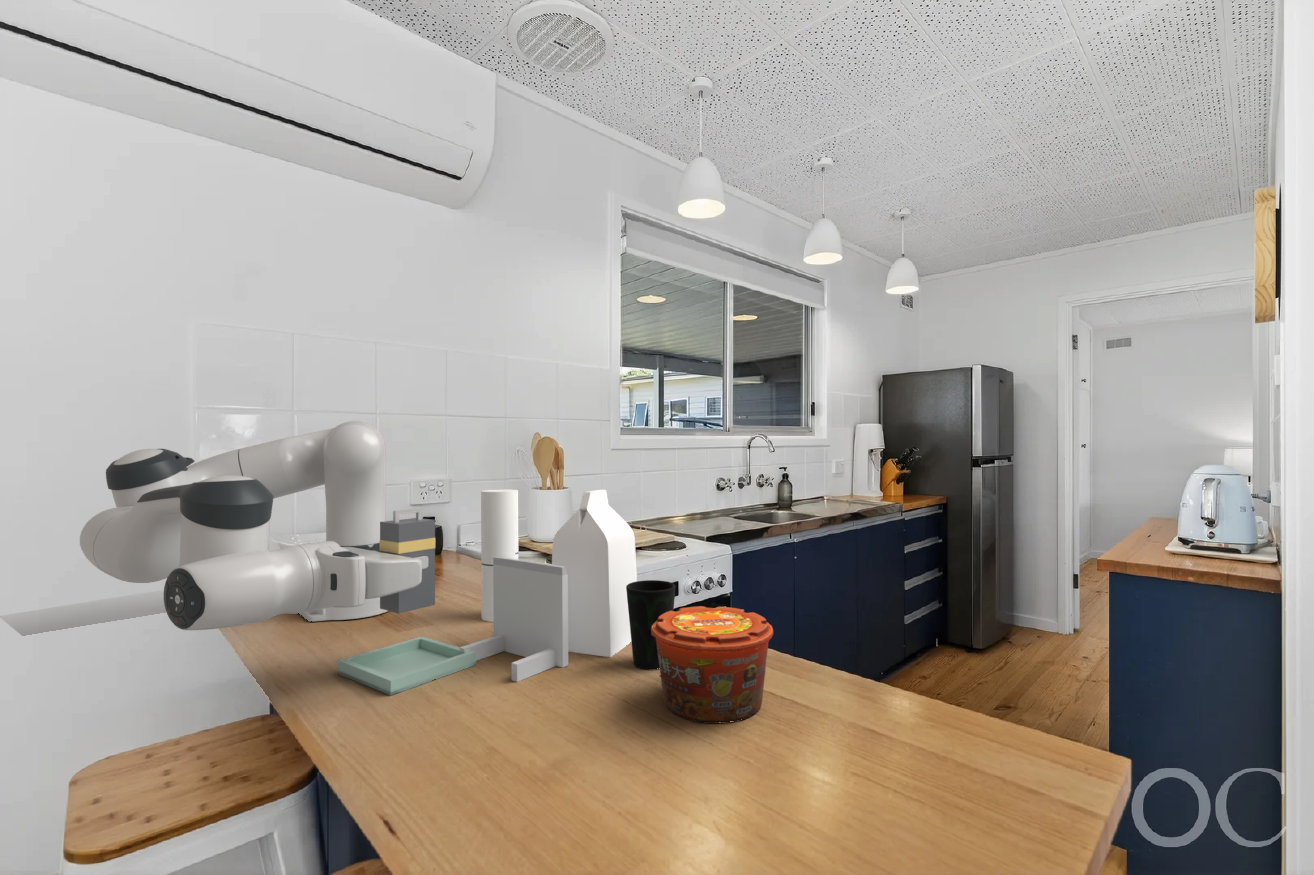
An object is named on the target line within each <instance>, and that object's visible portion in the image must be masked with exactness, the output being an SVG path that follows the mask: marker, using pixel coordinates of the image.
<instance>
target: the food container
mask: <svg viewBox="0 0 1314 875" xmlns="http://www.w3.org/2000/svg"><path fill="white" fill-rule="evenodd" d="M651 635H652V636H653V637H656V643H657V651H658V658H659V666H660V669H659V671H660V672H659V673H660V681H661V687H662V688H661V690H662V698H663V703H664V705H665V706H666V708H667V709H668V710H669V711H670V712H672V713H673V714H675V715H676V716H679V717H681V718H683V717H684V718H683V719H686V720H688V719H689V721H692V720H693V722H697V721H699V722H698V723H703V722H707V724H708V723H709V724H723V723H722V722H729V723H730V721H736V722H738V721H737V720H740V721H742V720H741V719H744V718H746V719H748V718H750V717H752V716H754V715H755V714H757V713H758V712H759V711H760V710H761V708H762V705H763V697H764V686H765V677H766V668H767V667H766V666H767V658H768V652H769V651H768V649H769V642H770V640H771V639H772V638H773V635H774V627H773V625H772V624H770V623H769V622H767V619H766V618H765V617H764V616H762V615H760V614H758V613H756V612H753V611H752V612H745V609H741V608H736V607H727V606H717V607H714V608H713V607H706V606H702V605H699V606H689V607H680V608H679V609H678V610H677V611H669V612H666V613H664V614H662V615H661V616H659V618H658V620H657V621H656V622H655V623H654V624H653V625H652V627H651ZM758 710H759V711H758ZM756 712H757V713H756ZM753 714H754V715H753ZM751 715H752V716H751ZM747 717H748V718H747ZM744 720H745V719H744ZM719 722H721V723H719Z"/></svg>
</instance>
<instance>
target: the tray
mask: <svg viewBox="0 0 1314 875" xmlns="http://www.w3.org/2000/svg"><path fill="white" fill-rule="evenodd" d="M460 647H461V646H460ZM460 647H459V646H456V645H452V644H450V643H446V642H443V641H440V640H437V639H433V638H430V637H426V636H423V635H422V636H417V637H415V638H411V639H408V640H405V641H401V642H398V643H394V644H390V645H386V646H384V647H381V648H376V649H373V650H369V651H366V652H363V653H359V654H356V655H352V656H349V657H346V658H341V659H338V660H337V672H338V673H337V674H338V675H339V676H342V677H345V678H347V679H350V680H352V681H354V682H357V683H359V684H361V685H363V686H366V687H368V688H371V689H374V690H376V691H379V692H380V693H384V694H386V695H389V696H394V695H397V694H399V693H402V692H404V691H408V690H410V689H413V688H417V687H418V686H421V684H422V685H424V684H427V683H430V682H432V680H433V681H435V680H434V679H436V680H438V679H441V678H443V677H446V675H447V676H449V675H452V674H454V673H457V672H460V671H463V670H465V669H468V668H471V667H474V666H476V662H477V661H476V652H474V651H470V650H469V651H466V652H462V651H460Z"/></svg>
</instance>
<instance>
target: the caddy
mask: <svg viewBox="0 0 1314 875" xmlns="http://www.w3.org/2000/svg"><path fill="white" fill-rule="evenodd" d="M414 513H415V517H414V518H403V519H400V515H404V514H414ZM380 552H382V553H388V554H394V555H399V556H405V557H411V558H412V557H414V556H427V557H428V567H427V568H425V569H422V581H421V583H420V584H419V585H418V586H416V587H414V588H411V589H408V590H405V591H401V592H398V593H394V594H390V595H387V596H383V597H380V609H384V610H387V612H392V613H394V614H402V613H407V612H410V611H414V610H420V609H423V608H427V607H432V606H435V605H436V520H435V519H430V518H429V519H428V518H423V509H422V508H410V509H402V510H401V509H400V510H399V509H398V510H393V511H392V520H386V521H384V522H380Z"/></svg>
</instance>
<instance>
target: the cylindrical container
mask: <svg viewBox="0 0 1314 875" xmlns="http://www.w3.org/2000/svg"><path fill="white" fill-rule="evenodd" d="M480 521H481V522H480V528H481V529H480V530H481V532H480V536H481V538H480V539H481V540H480V541H481V542H480V546H481V547H480V548H481V549H480V550H481V551H480V553H481V554H480V555H481V556H480V558H481V561H480V562H481V563H480V564H481V566H480V568H481V570H480V571H481V575H480V576H481V577H480V578H481V581H480V582H481V591H480V592H481V619H482V621H485V622H489V623H490V622H491V623H494V616H493V557H497V556H498V557H504V558H511V559H518V560H519V490H518V489H514V488H513V489H510V488H509V489H508V488H507V489H504V488H503V489H499V488H498V489H485V490H480Z"/></svg>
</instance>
